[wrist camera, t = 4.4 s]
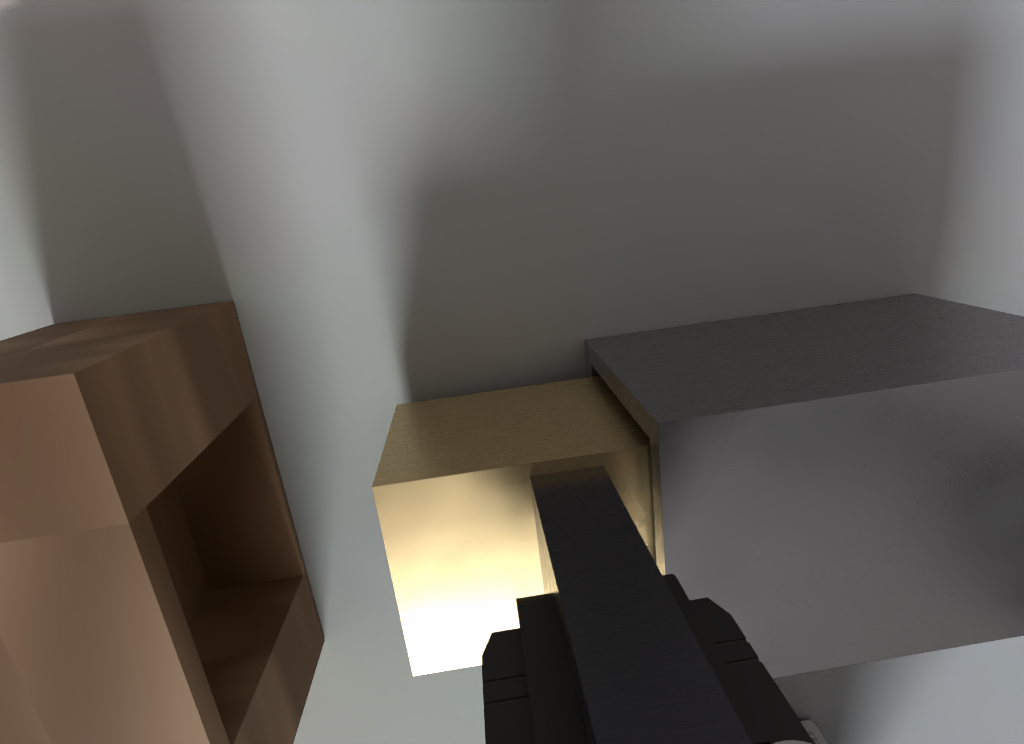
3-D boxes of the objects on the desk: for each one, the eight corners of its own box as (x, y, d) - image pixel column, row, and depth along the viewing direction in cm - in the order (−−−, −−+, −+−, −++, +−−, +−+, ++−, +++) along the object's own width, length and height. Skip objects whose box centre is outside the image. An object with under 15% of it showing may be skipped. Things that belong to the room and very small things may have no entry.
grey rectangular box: (915, 293, 18) (1168, 347, 12) (898, 485, 20) (1105, 621, 14) (585, 340, 18) (657, 423, 11) (601, 531, 20) (671, 696, 13)
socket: (233, 300, 16) (73, 373, 10) (324, 640, 20) (255, 867, 13) (52, 324, 16) (-241, 416, 9) (178, 664, 20) (31, 907, 13)
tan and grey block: (889, 334, 18) (1699, 593, 6) (877, 480, 19) (1512, 910, 8) (396, 404, 17) (262, 849, 5) (425, 551, 18) (367, 1141, 7)
